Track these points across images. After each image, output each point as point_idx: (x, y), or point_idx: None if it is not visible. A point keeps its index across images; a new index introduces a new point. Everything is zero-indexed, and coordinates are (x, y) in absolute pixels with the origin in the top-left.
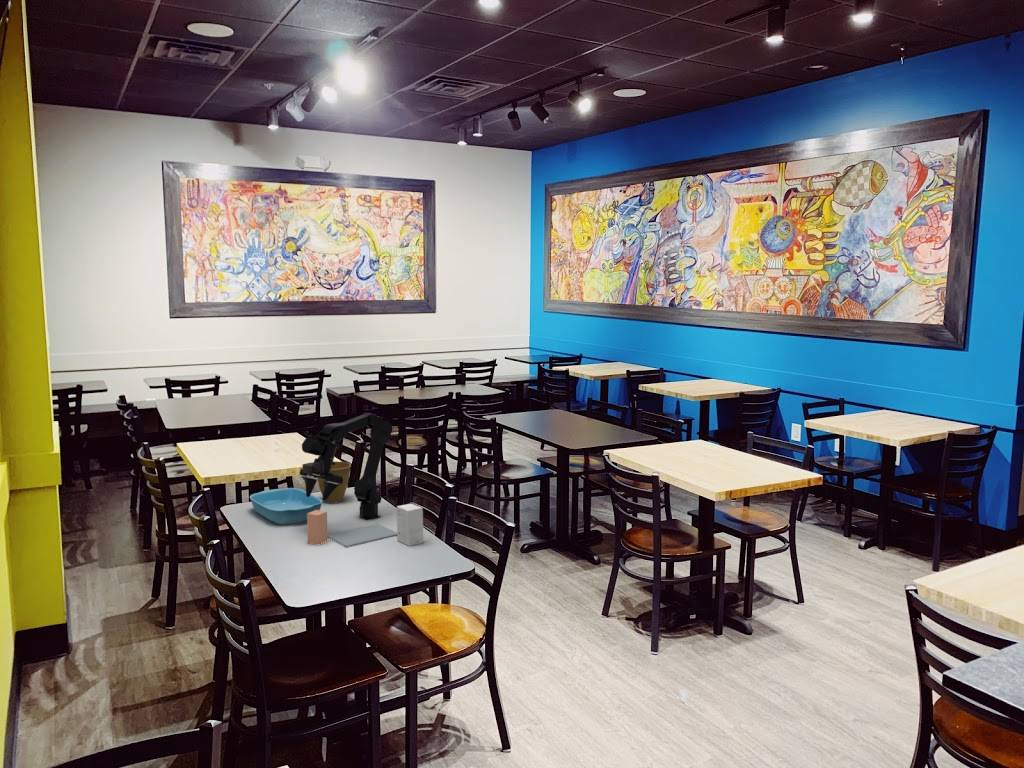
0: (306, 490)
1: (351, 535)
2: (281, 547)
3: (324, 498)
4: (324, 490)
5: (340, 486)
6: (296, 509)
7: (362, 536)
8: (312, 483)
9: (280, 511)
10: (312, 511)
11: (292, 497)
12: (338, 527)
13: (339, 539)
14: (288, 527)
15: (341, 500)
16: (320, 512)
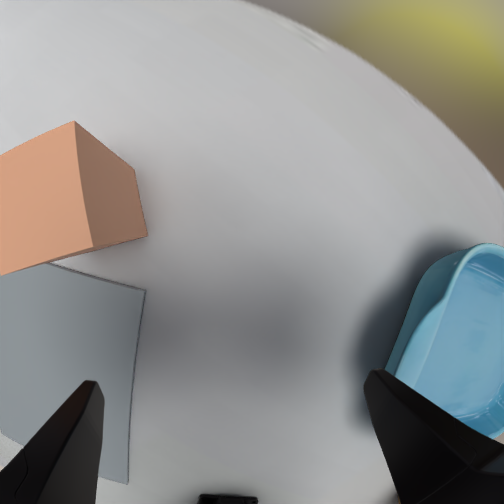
0: (420, 402)
1: (57, 352)
2: (191, 67)
3: (73, 401)
4: (39, 468)
5: None
6: (421, 326)
7: (25, 364)
8: (425, 502)
9: (459, 260)
10: (78, 194)
11: (498, 408)
12: (211, 407)
13: (47, 284)
14: (388, 269)
15: (398, 499)
16: (13, 222)
